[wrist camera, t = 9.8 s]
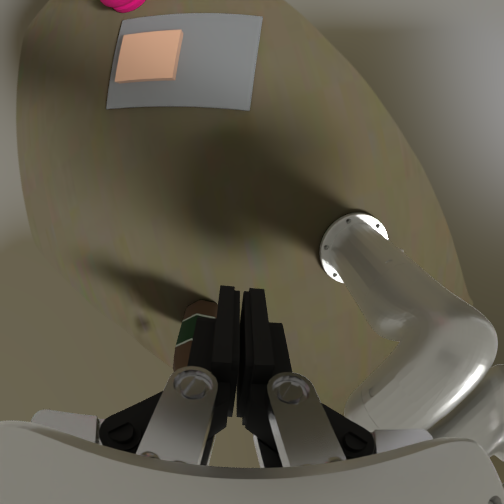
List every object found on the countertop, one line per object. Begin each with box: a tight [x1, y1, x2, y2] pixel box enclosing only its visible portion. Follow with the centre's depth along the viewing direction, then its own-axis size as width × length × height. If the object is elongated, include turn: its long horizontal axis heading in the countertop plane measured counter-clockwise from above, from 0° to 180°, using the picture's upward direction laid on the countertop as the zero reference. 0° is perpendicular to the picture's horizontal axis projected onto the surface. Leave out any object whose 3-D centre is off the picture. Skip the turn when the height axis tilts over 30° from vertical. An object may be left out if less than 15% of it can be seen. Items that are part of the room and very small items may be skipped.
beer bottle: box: [173, 300, 218, 372], centre depth 37 cm, size 8×8×24 cm
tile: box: [115, 30, 183, 84], centre depth 29 cm, size 2×8×9 cm
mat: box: [106, 13, 263, 111], centre depth 30 cm, size 22×16×1 cm
